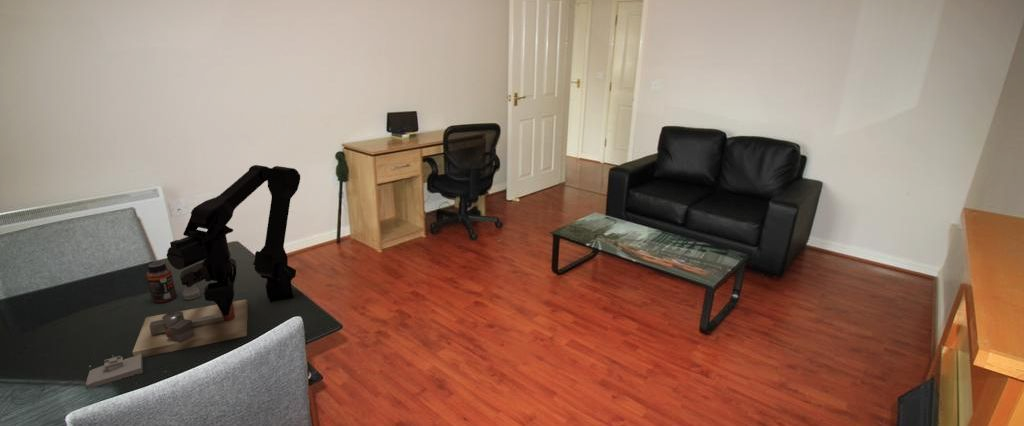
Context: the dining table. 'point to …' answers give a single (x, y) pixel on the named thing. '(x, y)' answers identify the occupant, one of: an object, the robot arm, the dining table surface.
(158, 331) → the lever
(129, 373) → the beige platform
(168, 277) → the supplement bottle
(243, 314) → the base
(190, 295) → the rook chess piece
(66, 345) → the dining table surface
